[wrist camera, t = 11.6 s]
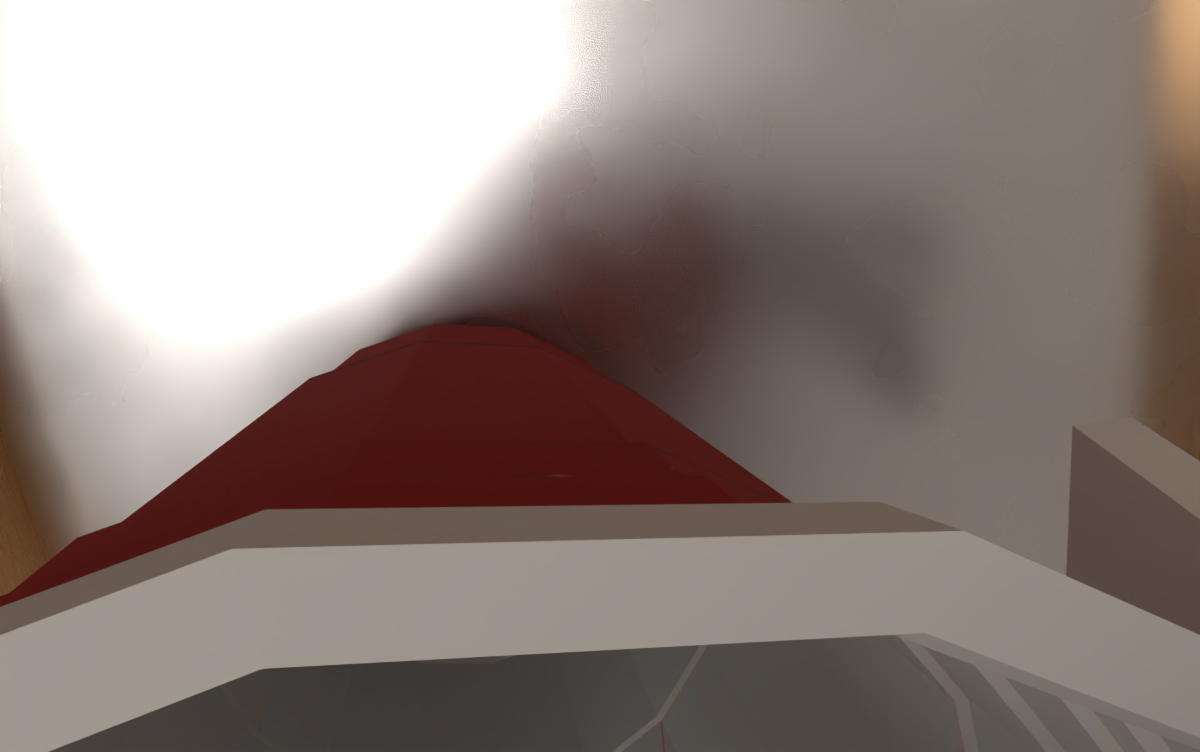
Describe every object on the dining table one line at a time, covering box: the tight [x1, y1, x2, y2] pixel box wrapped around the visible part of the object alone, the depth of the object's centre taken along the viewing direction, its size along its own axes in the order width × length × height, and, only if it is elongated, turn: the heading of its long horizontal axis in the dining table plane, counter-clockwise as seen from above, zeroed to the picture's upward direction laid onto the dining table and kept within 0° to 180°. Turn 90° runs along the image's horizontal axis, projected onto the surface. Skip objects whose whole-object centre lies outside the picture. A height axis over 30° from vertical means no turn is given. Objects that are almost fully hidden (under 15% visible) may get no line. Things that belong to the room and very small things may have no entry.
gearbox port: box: [0, 0, 1200, 596], centre depth 14 cm, size 22×27×6 cm
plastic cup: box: [0, 324, 1200, 752], centre depth 9 cm, size 11×11×12 cm
